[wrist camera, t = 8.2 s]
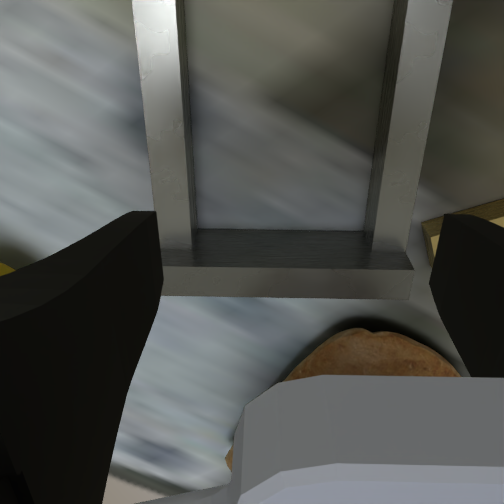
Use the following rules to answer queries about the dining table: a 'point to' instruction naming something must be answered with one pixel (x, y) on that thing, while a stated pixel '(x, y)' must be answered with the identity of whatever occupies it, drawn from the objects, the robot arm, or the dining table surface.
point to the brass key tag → (494, 212)
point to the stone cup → (369, 359)
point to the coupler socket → (290, 241)
